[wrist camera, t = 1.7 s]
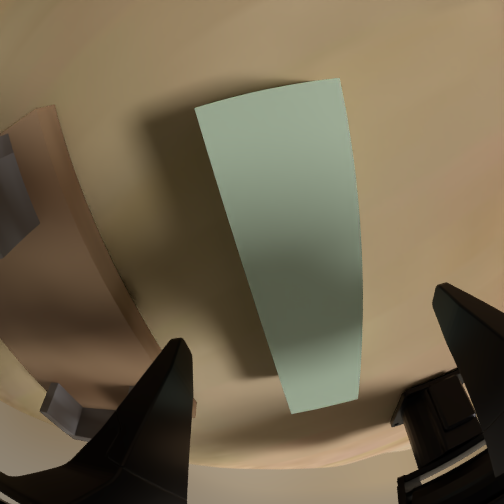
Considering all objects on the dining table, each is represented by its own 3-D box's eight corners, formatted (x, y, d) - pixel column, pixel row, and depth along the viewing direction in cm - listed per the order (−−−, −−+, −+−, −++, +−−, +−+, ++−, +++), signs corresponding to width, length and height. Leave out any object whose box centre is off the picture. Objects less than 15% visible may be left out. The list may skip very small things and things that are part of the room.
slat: (344, 356, 15) (357, 398, 13) (285, 369, 16) (291, 414, 13) (311, 81, 8) (339, 77, 6) (208, 103, 9) (194, 108, 6)
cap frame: (196, 402, 17) (192, 452, 14) (72, 399, 18) (60, 436, 15) (54, 104, 8) (-13, 121, 5) (-60, 194, 9) (-100, 224, 5)
